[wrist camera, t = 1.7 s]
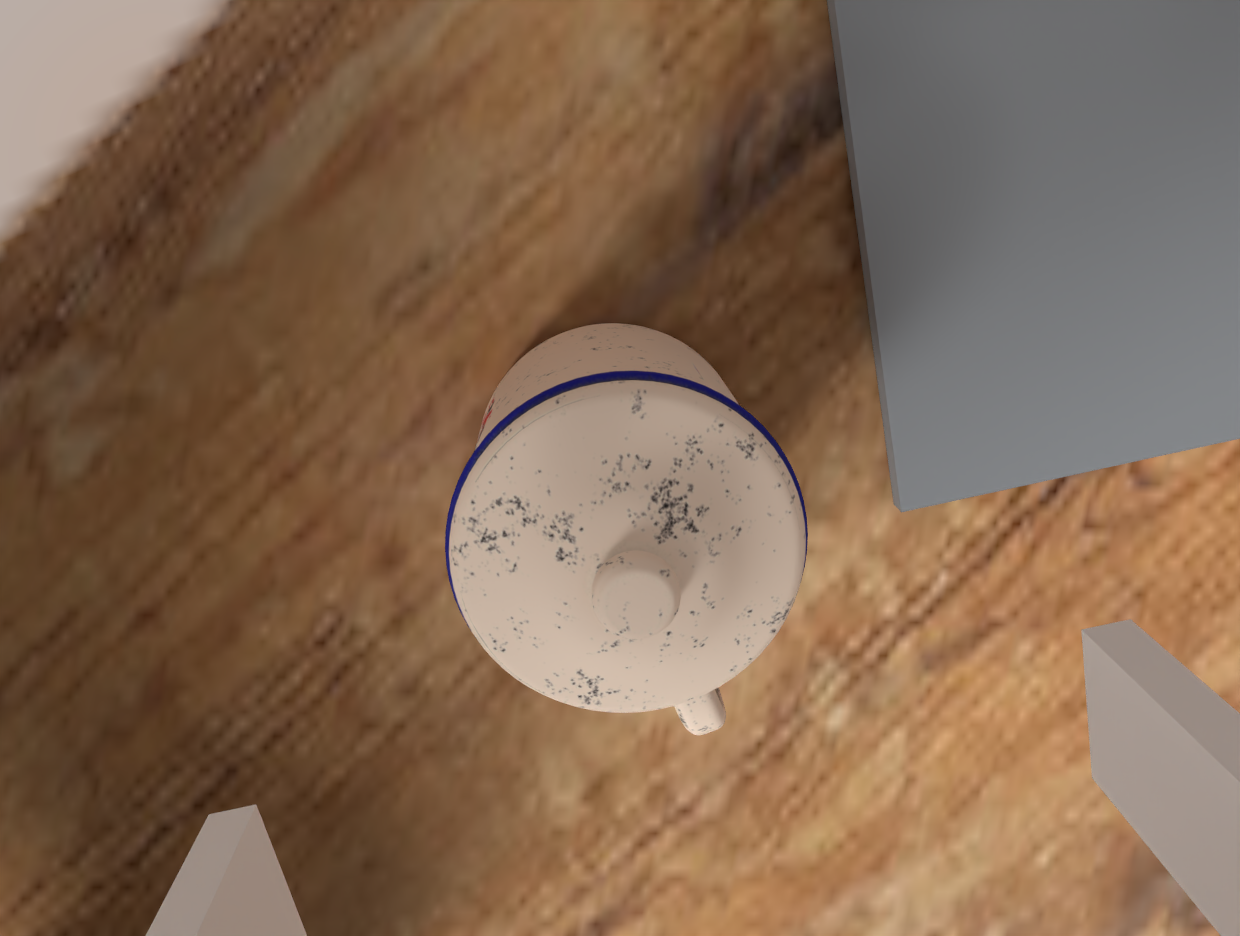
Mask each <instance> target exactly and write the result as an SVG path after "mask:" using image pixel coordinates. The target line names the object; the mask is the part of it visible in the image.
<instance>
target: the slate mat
mask: <svg viewBox="0 0 1240 936" xmlns="http://www.w3.org/2000/svg"><path fill="white" fill-rule="evenodd" d="M827 5H828V13H829V20H830V28H831V35H832V43H833V50H834V58H835V65H836V73H837V80H838V88H839V95H840V103H841V110H842V118H843V125H844V133H845V141H846V148H847V156H848V163H849V171H850V178H851V186H852V193H853V201H854V208H855V216H856V223H857V231H858V238H859V246H860V253H861V261H862V268H863V276H864V283H865V291H866V298H867V306H868V313H869V321H870V328H871V336H872V343H873V351H874V359H875V366H876V374H877V381H878V389H879V396H880V404H881V411H882V419H883V426H884V434H885V441H886V449H887V456H888V464H889V471H890V479H891V486H892V494H893V501H894V505H895V506H896V507H897V508H898V509H899V510H900V511H901V512H905V511H909V510H914V509H918V508H923V507H928V506H932V505H937V504H941V503H946V502H951V501H955V500H960V499H964V498H969V497H974V496H978V495H983V494H987V493H992V492H996V491H1001V490H1006V489H1010V488H1015V487H1019V486H1024V485H1029V484H1033V483H1038V482H1042V481H1047V480H1052V479H1056V478H1061V477H1065V476H1070V475H1075V474H1079V473H1084V472H1088V471H1093V470H1098V469H1102V468H1107V467H1111V466H1116V465H1120V464H1125V463H1130V462H1134V461H1139V460H1143V459H1148V458H1153V457H1157V456H1162V455H1166V454H1171V453H1176V452H1180V451H1185V450H1189V449H1194V448H1199V447H1203V446H1208V445H1212V444H1217V443H1221V442H1226V441H1231V440H1235V439H1240V0H827Z"/></svg>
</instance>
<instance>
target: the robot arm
mask: <svg viewBox="0 0 1240 936" xmlns="http://www.w3.org/2000/svg"><path fill="white" fill-rule="evenodd" d="M1082 643H1083V657H1084V671H1085V685H1086V699H1087V713H1088V727H1089V741H1090V755H1091V769H1092V778H1093V780H1094V781H1095V782H1096V783H1097V784H1098V786H1099V787H1100V788H1101V789H1102V791H1103V792H1104V793H1105V794H1106V796H1107V797H1108V798H1109V799H1110V800H1111V802H1112V803H1113V804H1114V805H1115V807H1116V808H1117V809H1118V810H1119V811H1120V813H1121V814H1122V815H1123V816H1124V818H1125V819H1126V820H1127V821H1128V822H1129V824H1130V825H1131V826H1132V827H1133V829H1134V830H1135V831H1136V832H1137V834H1138V835H1139V836H1140V837H1141V838H1142V840H1143V841H1144V842H1145V843H1146V845H1147V846H1148V847H1149V848H1150V849H1151V851H1152V852H1153V853H1154V854H1155V856H1156V857H1157V858H1158V859H1159V861H1160V862H1161V863H1162V864H1163V865H1164V867H1165V868H1166V869H1167V870H1168V872H1169V873H1170V874H1171V875H1172V876H1173V878H1174V879H1175V880H1176V881H1177V883H1178V884H1179V885H1180V886H1181V887H1182V889H1183V890H1184V891H1185V892H1186V894H1187V895H1188V896H1189V897H1190V899H1191V900H1192V901H1193V902H1194V903H1195V905H1196V906H1197V907H1198V908H1199V910H1200V911H1201V912H1202V913H1203V914H1204V916H1205V917H1206V918H1207V919H1208V921H1209V922H1210V923H1211V924H1212V926H1213V927H1214V928H1215V929H1216V930H1217V932H1218V933H1219V934H1220V935H1221V936H1240V714H1239V713H1238V712H1237V711H1236V710H1235V709H1234V708H1232V707H1231V706H1230V705H1229V704H1228V703H1227V702H1226V701H1224V700H1223V699H1222V698H1221V697H1220V696H1219V695H1217V694H1216V693H1215V692H1214V691H1213V690H1212V689H1210V688H1209V687H1208V686H1207V685H1206V684H1205V683H1204V682H1202V681H1201V680H1200V679H1199V678H1198V677H1197V676H1195V675H1194V674H1193V673H1192V672H1191V671H1190V670H1188V669H1187V668H1186V667H1185V666H1184V665H1183V664H1182V663H1180V662H1179V661H1178V660H1177V659H1176V658H1175V657H1173V656H1172V655H1171V654H1170V653H1169V652H1168V651H1166V650H1165V649H1164V648H1163V647H1162V646H1161V645H1160V644H1158V643H1157V642H1156V641H1155V640H1154V639H1153V638H1151V637H1150V636H1149V635H1148V634H1147V633H1146V632H1144V631H1143V630H1142V629H1141V628H1140V627H1139V626H1137V625H1136V624H1135V623H1134V622H1133V621H1132V620H1131V619H1130V620H1125V621H1120V622H1116V623H1111V624H1106V625H1101V626H1097V627H1092V628H1087V629H1083V630H1082ZM146 936H307V934H306V932H305V929H304V926H303V924H302V921H301V919H300V916H299V914H298V911H297V908H296V906H295V903H294V901H293V898H292V895H291V893H290V890H289V888H288V885H287V882H286V880H285V877H284V875H283V872H282V870H281V867H280V864H279V862H278V859H277V857H276V854H275V851H274V849H273V846H272V844H271V841H270V839H269V836H268V833H267V831H266V828H265V826H264V823H263V820H262V818H261V815H260V813H259V810H258V808H257V805H251V806H246V807H241V808H237V809H232V810H227V811H222V812H218V813H213V814H209V815H208V817H207V819H206V821H205V823H204V825H203V827H202V828H201V830H200V832H199V834H198V836H197V838H196V840H195V842H194V844H193V846H192V848H191V850H190V851H189V853H188V855H187V857H186V859H185V861H184V863H183V865H182V867H181V869H180V871H179V873H178V874H177V876H176V878H175V880H174V882H173V884H172V886H171V888H170V890H169V892H168V894H167V896H166V897H165V899H164V901H163V903H162V905H161V907H160V909H159V911H158V913H157V915H156V917H155V919H154V921H153V922H152V924H151V926H150V928H149V930H148V932H147V934H146Z"/></svg>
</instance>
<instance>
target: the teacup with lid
mask: <svg viewBox="0 0 1240 936" xmlns="http://www.w3.org/2000/svg"><path fill="white" fill-rule="evenodd" d="M807 537H808V532H807V517H806V512H805V506H804V500H803V497H802V493H801V490H800V486H799V483H798V481H797V478H796V476H795V474H794V471H793V469H792V467H791V465H790V463H789V461H788V459H787V457H786V456H785V454H784V452H783V451H782V449H781V448H780V446H779V445H778V444H777V442H776V441H775V439H774V438H773V437H772V436H771V434H770V433H769V432H768V431H767V430H766V429H765V427H764V426H763V425H762V424H761V423H760V422H759V421H758V420H756V419H755V418H754V417H753V416H752V415H751V414H750V413H749V412H747V411H746V410H745V409H744V408H742V407H741V406H740V405H739V404H738V402H737V401H736V399H735V398H734V396H733V395H732V393H731V392H730V391H729V389H728V388H727V386H726V385H725V383H724V382H723V380H722V379H721V377H720V376H719V374H718V373H717V372H716V371H715V370H714V369H713V367H712V366H711V365H710V364H709V363H708V362H707V361H706V360H705V359H704V358H703V357H702V356H701V355H699V354H698V353H697V352H696V351H694V350H693V349H692V348H690V347H689V346H687V345H686V344H684V343H683V342H681V341H679V340H677V339H675V338H673V337H671V336H669V335H667V334H665V333H662V332H659V331H657V330H654V329H650V328H646V327H643V326H637V325H631V324H620V323H604V324H595V325H588V326H583V327H579V328H575V329H572V330H569V331H566V332H563V333H561V334H558V335H556V336H554V337H552V338H550V339H548V340H546V341H544V342H543V343H541V344H539V345H538V346H536V347H535V348H533V349H532V350H531V351H529V352H528V353H527V354H526V355H524V356H523V357H522V358H521V359H520V360H519V361H518V362H517V363H516V364H515V365H514V366H513V367H512V368H511V369H510V370H509V371H508V372H507V374H506V375H505V376H504V378H503V379H502V380H501V382H500V383H499V385H498V387H497V388H496V390H495V391H494V393H493V395H492V397H491V399H490V401H489V403H488V406H487V409H486V411H485V414H484V417H483V421H482V425H481V429H480V432H479V436H478V440H477V444H476V448H475V451H474V453H473V454H472V456H471V458H470V459H469V461H468V462H467V464H466V466H465V468H464V470H463V472H462V474H461V476H460V478H459V480H458V483H457V485H456V488H455V491H454V494H453V497H452V500H451V504H450V508H449V512H448V518H447V525H446V537H445V552H446V565H447V570H448V576H449V581H450V585H451V588H452V591H453V595H454V598H455V600H456V603H457V605H458V607H459V610H460V612H461V614H462V616H463V618H464V620H465V621H466V623H467V625H468V627H469V628H470V630H471V631H472V633H473V634H474V636H475V637H476V639H477V640H478V641H479V643H480V644H481V646H482V647H483V648H484V649H485V650H486V651H487V653H488V654H489V655H490V656H491V657H492V658H493V659H494V660H495V661H496V662H497V663H498V664H499V665H500V666H501V667H502V668H503V669H504V670H505V671H507V672H508V673H509V674H510V675H512V676H513V677H514V678H515V679H517V680H518V681H520V682H522V683H523V684H525V685H526V686H528V687H529V688H531V689H533V690H535V691H537V692H539V693H541V694H542V695H544V696H547V697H549V698H552V699H554V700H557V701H559V702H562V703H565V704H568V705H572V706H575V707H579V708H584V709H589V710H594V711H602V712H617V713H630V712H644V711H652V710H658V709H663V708H667V707H671V706H674V707H675V709H676V711H677V713H678V716H679V718H680V720H681V721H682V723H683V725H684V726H685V728H686V729H687V730H688V731H689V732H691V733H692V734H694V735H703V734H706V733H709V732H712V731H715V730H717V729H719V728H720V727H722V726H723V724H724V722H725V719H726V711H725V707H724V703H723V700H722V697H721V693H720V690H719V687H720V686H721V685H723V684H724V683H726V682H727V681H729V680H731V679H732V678H733V677H735V676H736V675H737V674H739V673H740V672H741V671H743V670H744V669H745V668H746V667H747V666H748V665H749V664H751V663H752V662H753V661H754V660H755V659H756V658H757V657H758V656H759V655H760V654H761V653H762V652H763V650H764V649H765V648H766V647H767V646H768V645H769V644H770V642H771V641H772V639H773V638H774V637H775V635H776V634H777V633H778V631H779V630H780V628H781V626H782V625H783V623H784V621H785V620H786V618H787V616H788V614H789V612H790V610H791V608H792V606H793V603H794V601H795V598H796V595H797V592H798V590H799V586H800V583H801V579H802V575H803V571H804V567H805V561H806V554H807Z"/></svg>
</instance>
